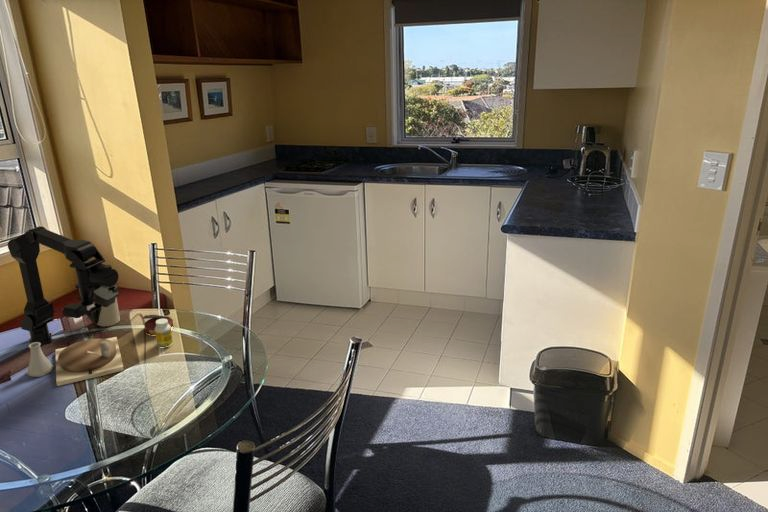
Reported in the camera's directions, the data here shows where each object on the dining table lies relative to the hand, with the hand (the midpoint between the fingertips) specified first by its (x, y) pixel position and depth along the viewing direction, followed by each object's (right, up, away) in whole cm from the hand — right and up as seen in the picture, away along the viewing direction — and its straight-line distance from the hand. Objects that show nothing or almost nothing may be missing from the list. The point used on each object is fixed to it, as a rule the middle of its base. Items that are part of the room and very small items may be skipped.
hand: (95, 323), depth 182 cm
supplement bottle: (+17, -9, +14) cm, 24 cm away
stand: (-3, -13, +2) cm, 14 cm away
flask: (-16, -15, -3) cm, 22 cm away
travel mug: (-9, -3, +27) cm, 29 cm away
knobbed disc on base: (-3, -11, +2) cm, 12 cm away
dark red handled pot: (+12, -5, +23) cm, 26 cm away
